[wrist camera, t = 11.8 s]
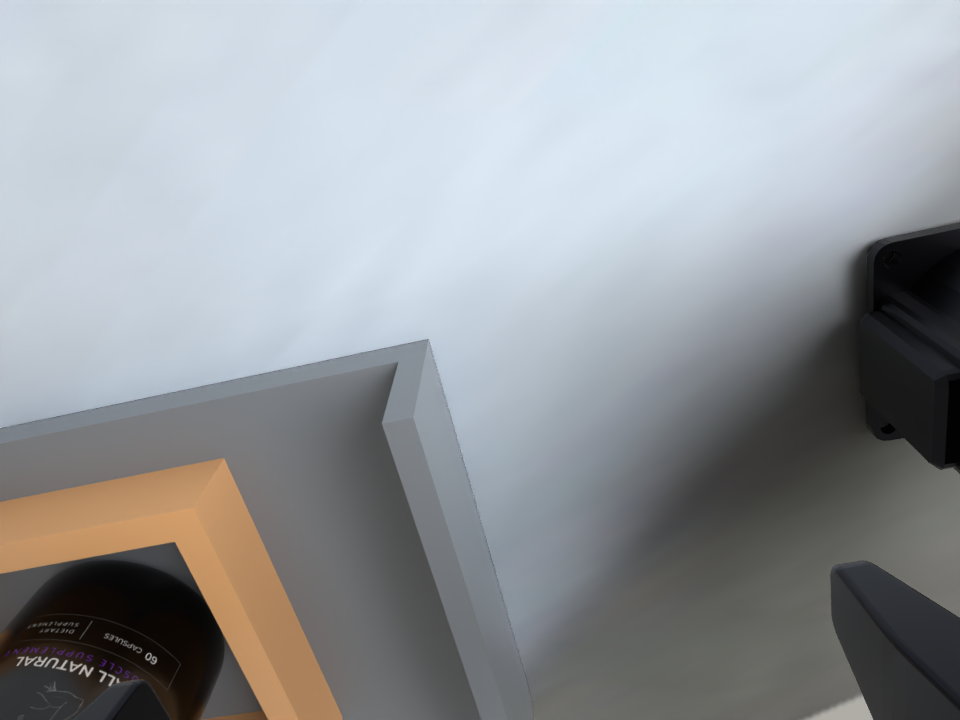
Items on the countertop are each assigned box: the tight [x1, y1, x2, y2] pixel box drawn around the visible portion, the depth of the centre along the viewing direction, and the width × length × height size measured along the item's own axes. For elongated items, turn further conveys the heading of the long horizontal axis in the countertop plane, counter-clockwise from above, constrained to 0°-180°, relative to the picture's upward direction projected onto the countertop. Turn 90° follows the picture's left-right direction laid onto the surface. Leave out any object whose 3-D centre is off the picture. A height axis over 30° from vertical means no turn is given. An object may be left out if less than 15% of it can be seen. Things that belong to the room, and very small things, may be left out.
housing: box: [0, 339, 533, 720], centre depth 24 cm, size 20×16×5 cm
